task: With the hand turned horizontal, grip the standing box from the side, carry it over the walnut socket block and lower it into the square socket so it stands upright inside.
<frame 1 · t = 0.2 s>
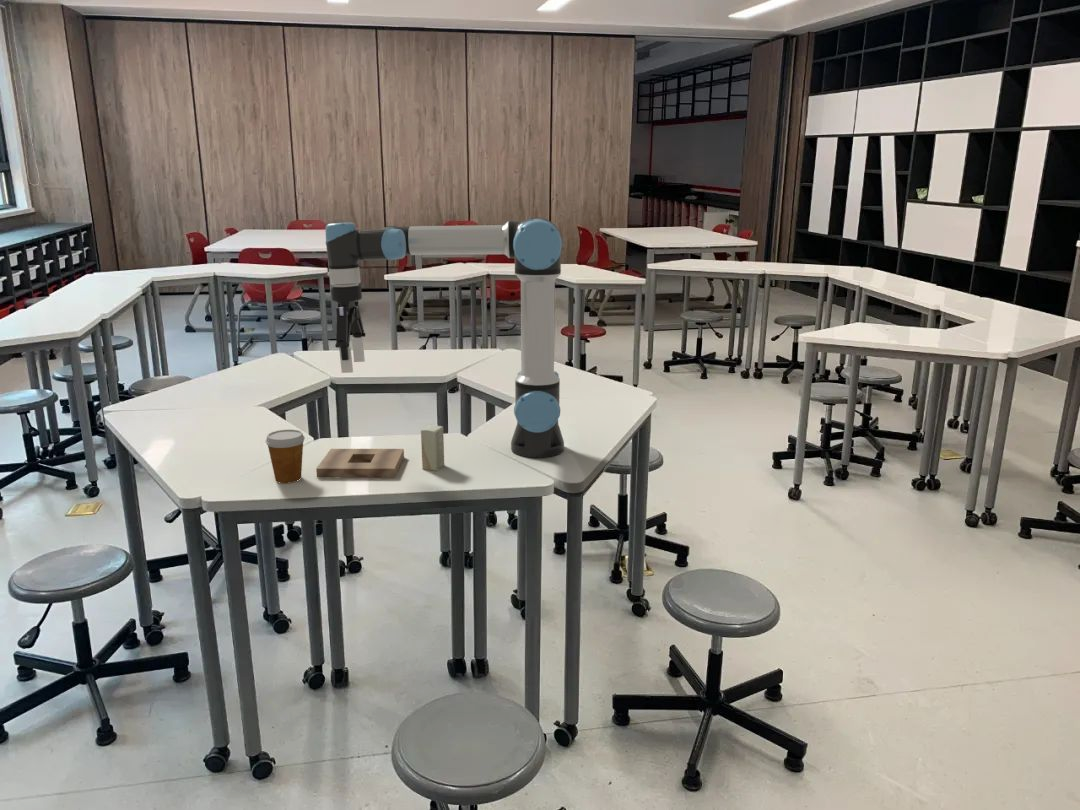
hand: (353, 367, 212), 27 cm above the table, tool pointing down, fingers open, 13 cm apart
disposable coffee cup: (288, 479, 208), on the table
socket block: (362, 467, 217), on the table
box: (433, 468, 217), on the table
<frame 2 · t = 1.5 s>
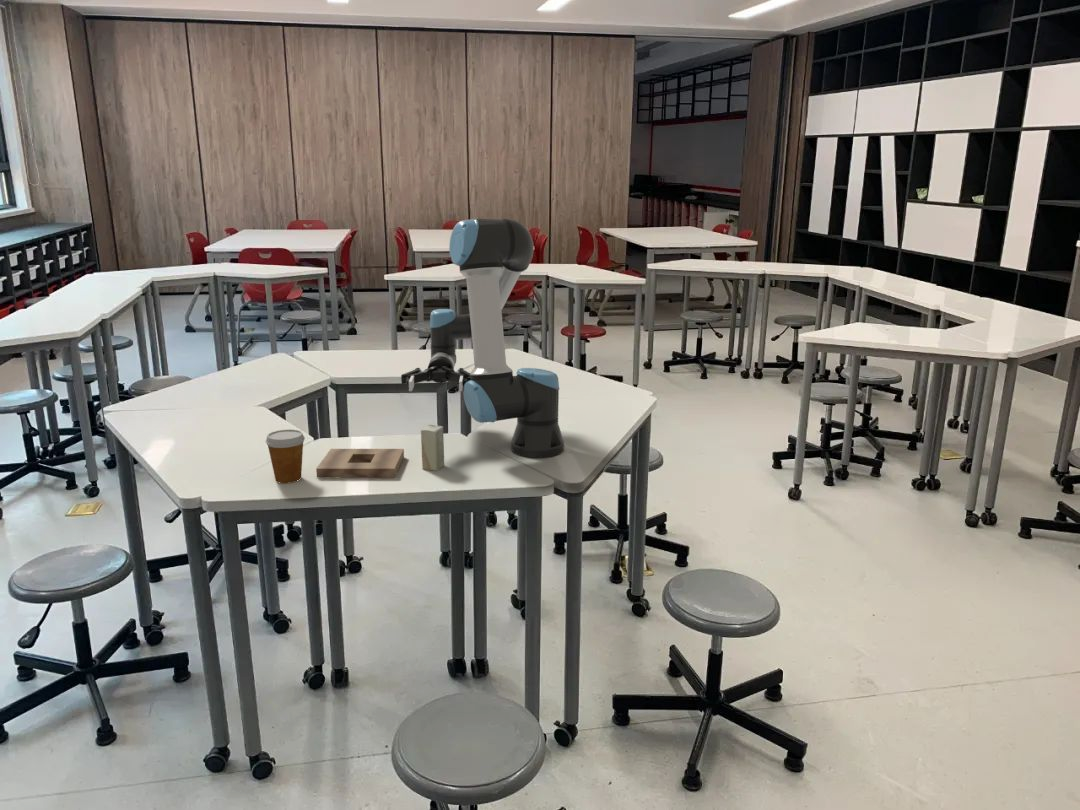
hand: (435, 386, 220), 20 cm above the table, tool horizontal, fingers open, 13 cm apart
nothing on the table moved.
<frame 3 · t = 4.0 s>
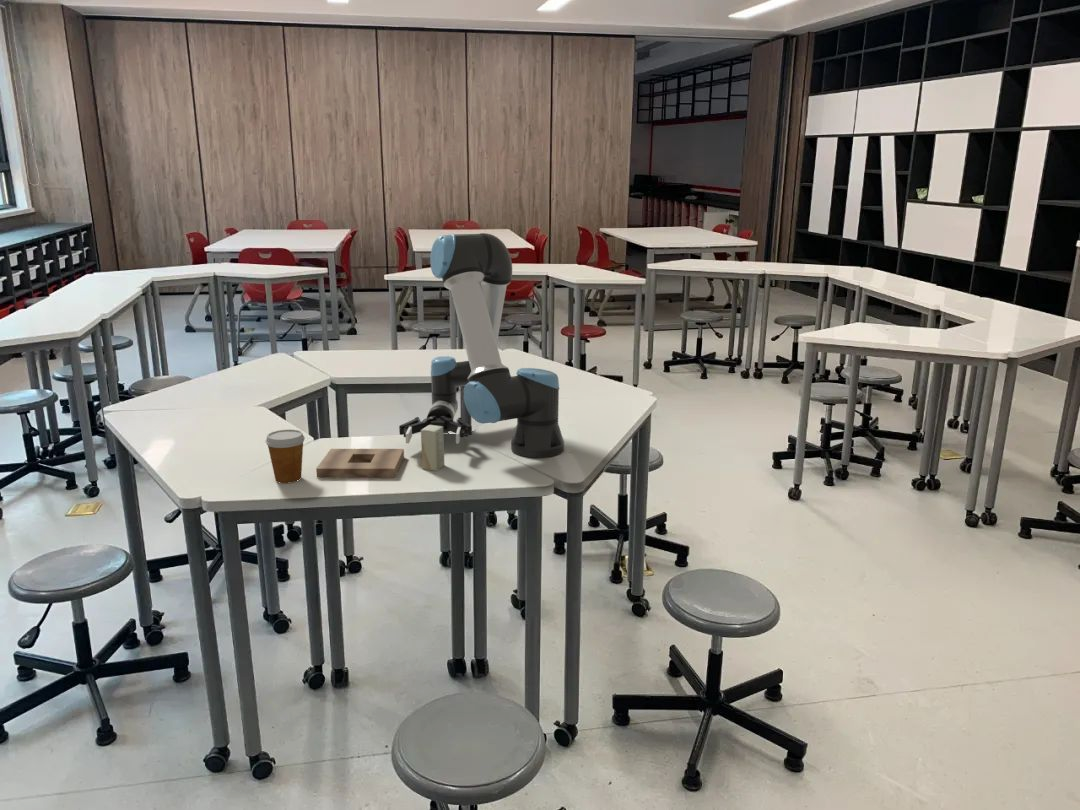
hand: (432, 438, 220), 6 cm above the table, tool horizontal, fingers open, 13 cm apart
nothing on the table moved.
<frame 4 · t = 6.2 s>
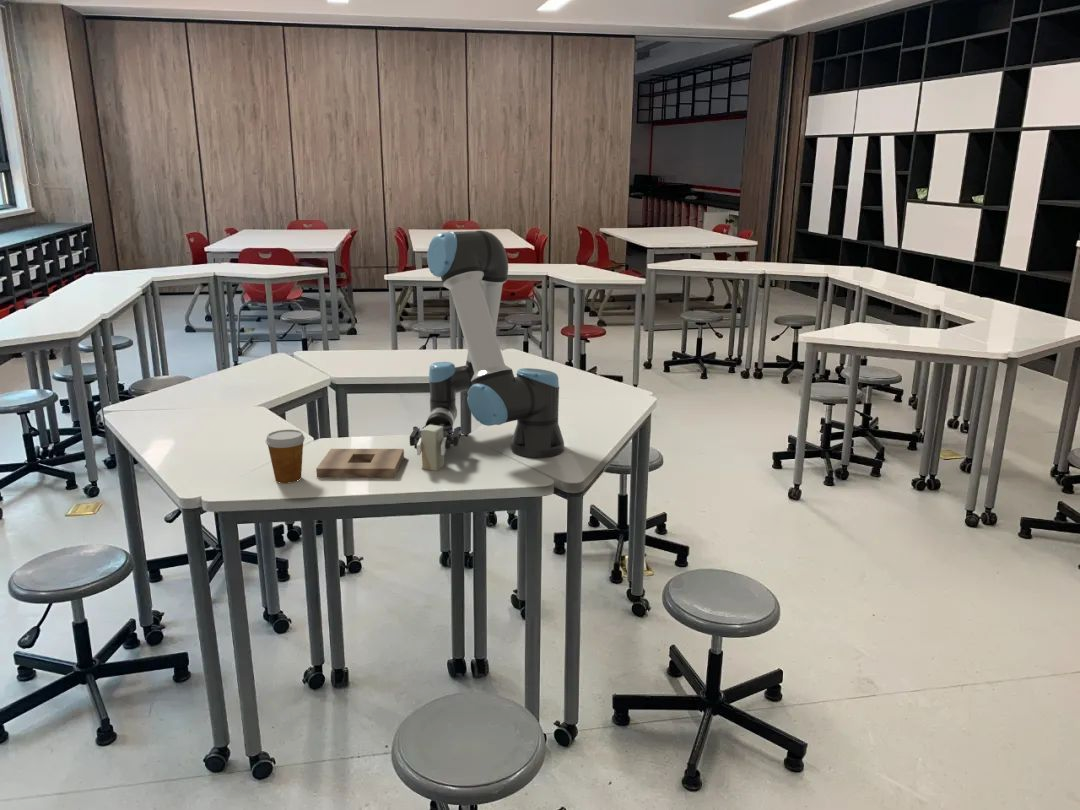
hand: (430, 450, 210), 7 cm above the table, tool horizontal, fingers closed on box, 5 cm apart
box: (433, 467, 217), on the table, touching gripper
everything else where it was.
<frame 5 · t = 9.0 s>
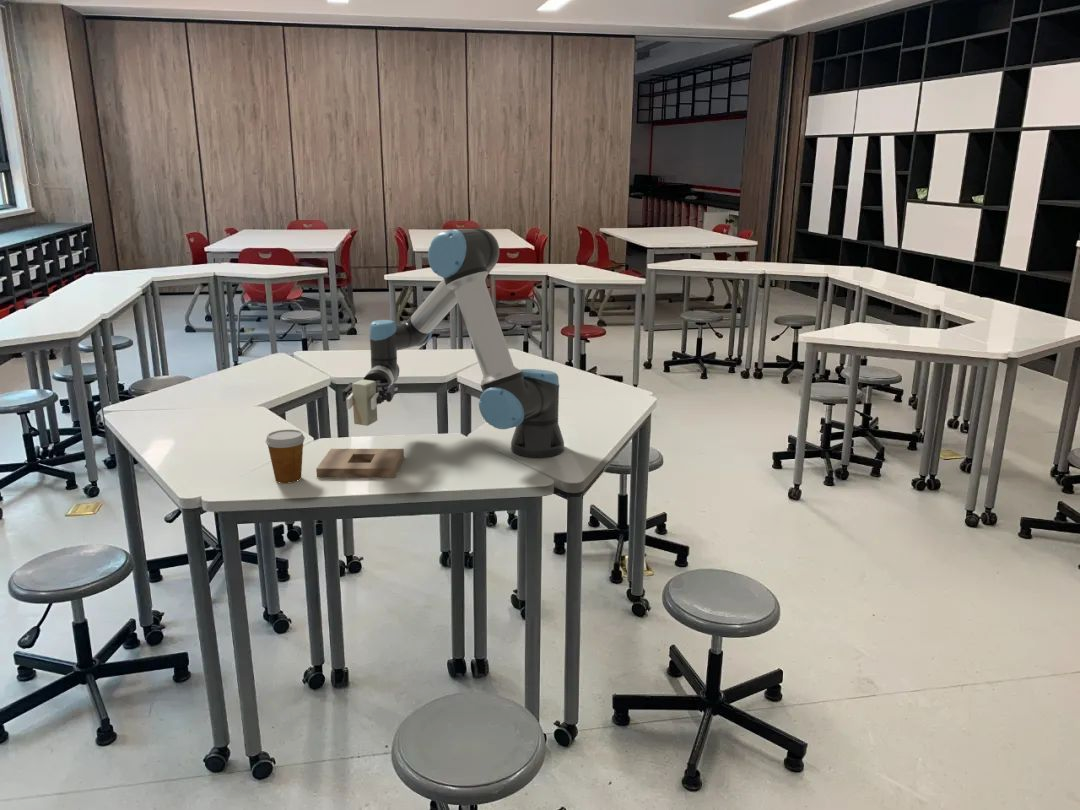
hand: (360, 404, 208), 19 cm above the table, tool horizontal, fingers closed on box, 5 cm apart
box: (365, 423, 215), point 12 cm above the table, touching gripper
everything else where it was.
when the fingers open (8 cm above the table, at t = 11.9 s): box drops 1 cm, resting in socket block.
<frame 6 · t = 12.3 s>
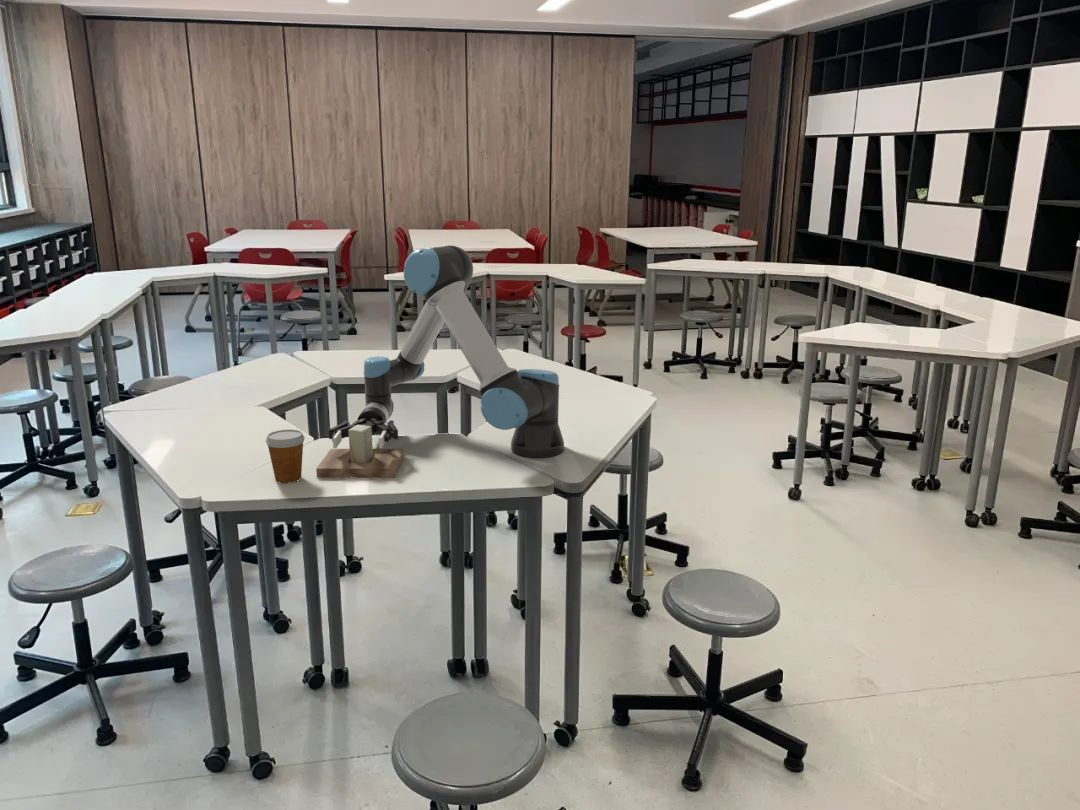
hand: (357, 443, 211), 8 cm above the table, tool horizontal, fingers open, 11 cm apart
box: (362, 467, 217), resting in socket block
everything else where it was.
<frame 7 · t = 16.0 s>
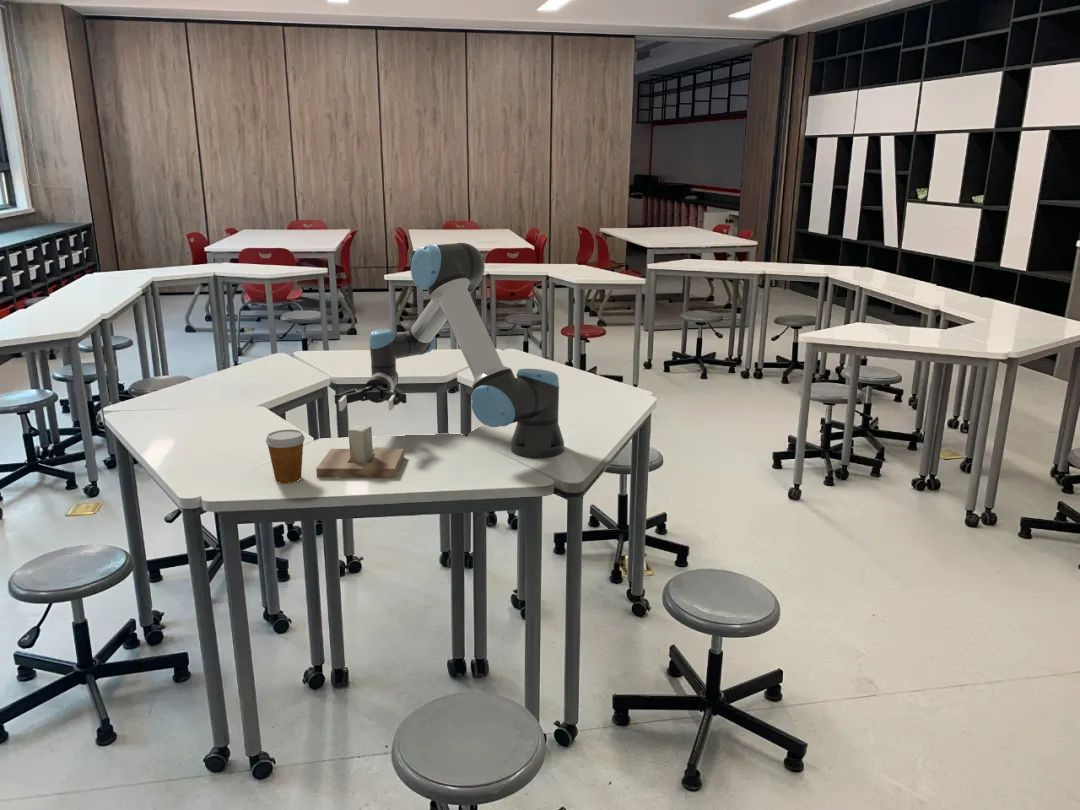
hand: (365, 405, 223), 14 cm above the table, tool horizontal, fingers open, 13 cm apart
nothing on the table moved.
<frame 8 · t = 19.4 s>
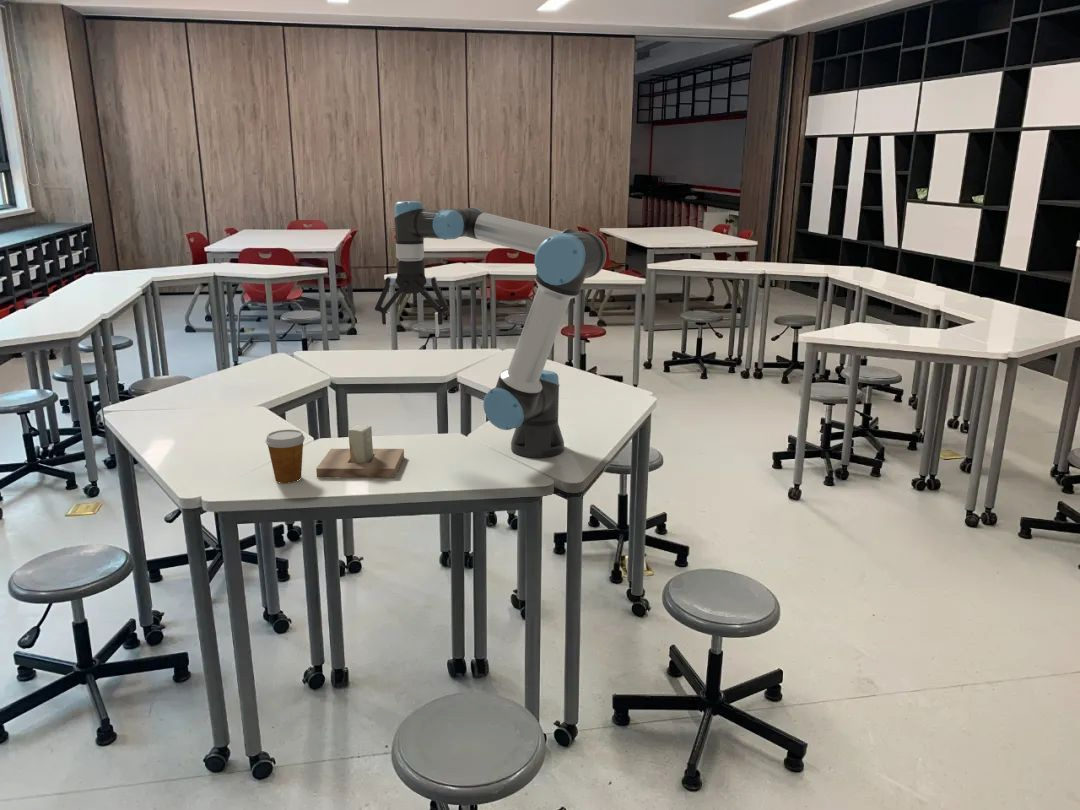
hand: (413, 336, 228), 32 cm above the table, tool pointing down, fingers open, 13 cm apart
nothing on the table moved.
at the end: box 0.1 cm off-centre on the socket block, point 0.0 cm above the socket block's base; box tilted 0°; the gripper is holding nothing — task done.
